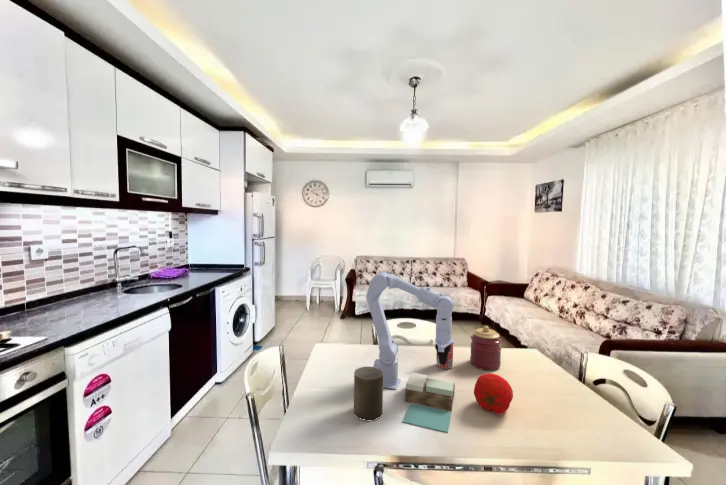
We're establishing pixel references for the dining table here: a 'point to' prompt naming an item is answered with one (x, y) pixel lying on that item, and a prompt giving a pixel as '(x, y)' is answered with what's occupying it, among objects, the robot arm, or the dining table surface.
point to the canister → (485, 349)
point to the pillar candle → (368, 393)
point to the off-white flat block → (416, 382)
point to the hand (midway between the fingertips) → (442, 363)
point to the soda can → (449, 359)
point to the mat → (428, 417)
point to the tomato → (493, 393)
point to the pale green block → (440, 387)
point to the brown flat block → (430, 398)
